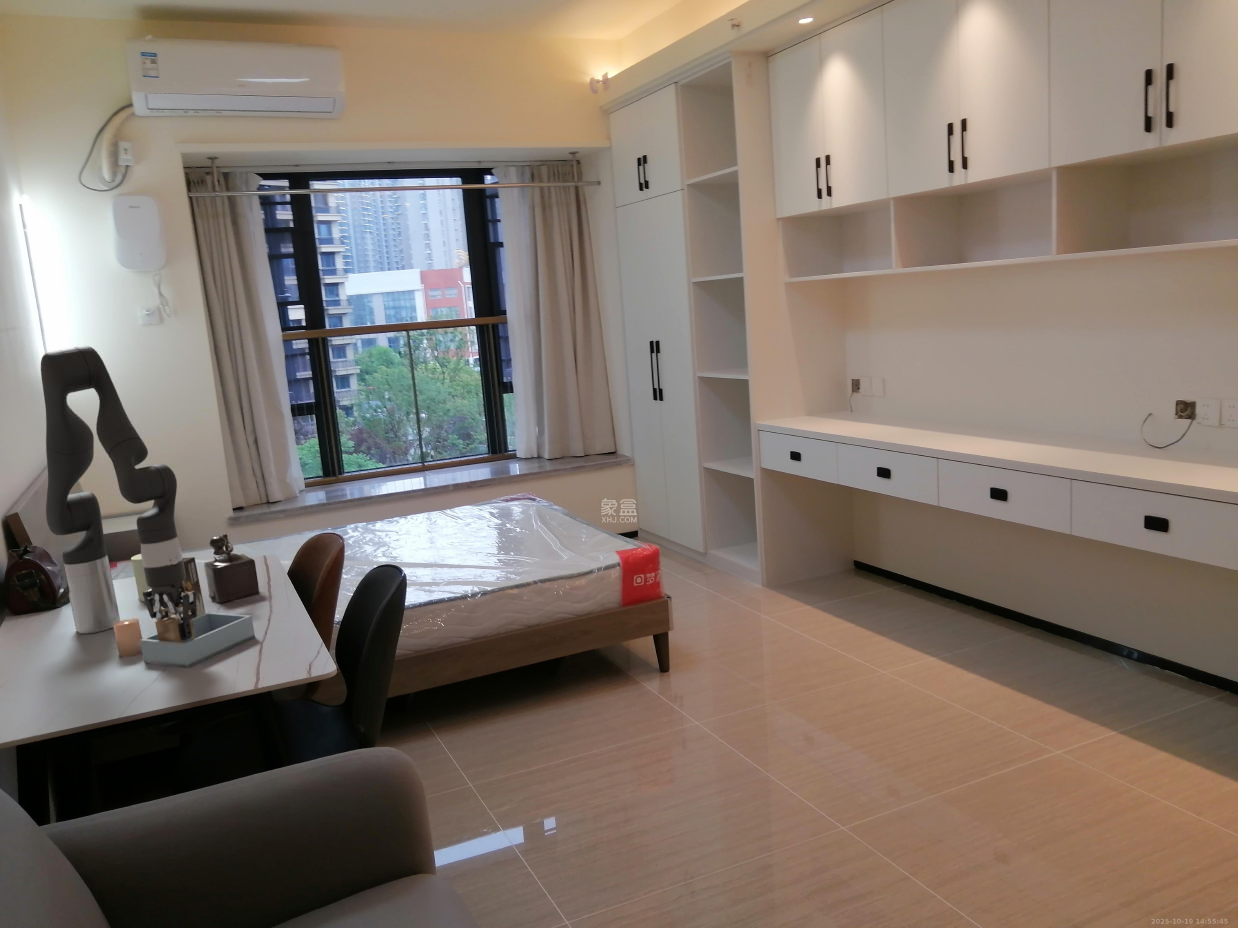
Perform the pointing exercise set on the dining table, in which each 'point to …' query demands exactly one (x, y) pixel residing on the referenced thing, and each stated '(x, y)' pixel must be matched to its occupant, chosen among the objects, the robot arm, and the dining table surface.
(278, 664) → the dining table surface
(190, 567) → the coffee box
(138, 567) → the can
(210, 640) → the tote
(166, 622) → the walnut cube
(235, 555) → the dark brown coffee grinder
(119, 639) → the peach rounded cylinder
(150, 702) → the dining table surface
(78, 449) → the robot arm
